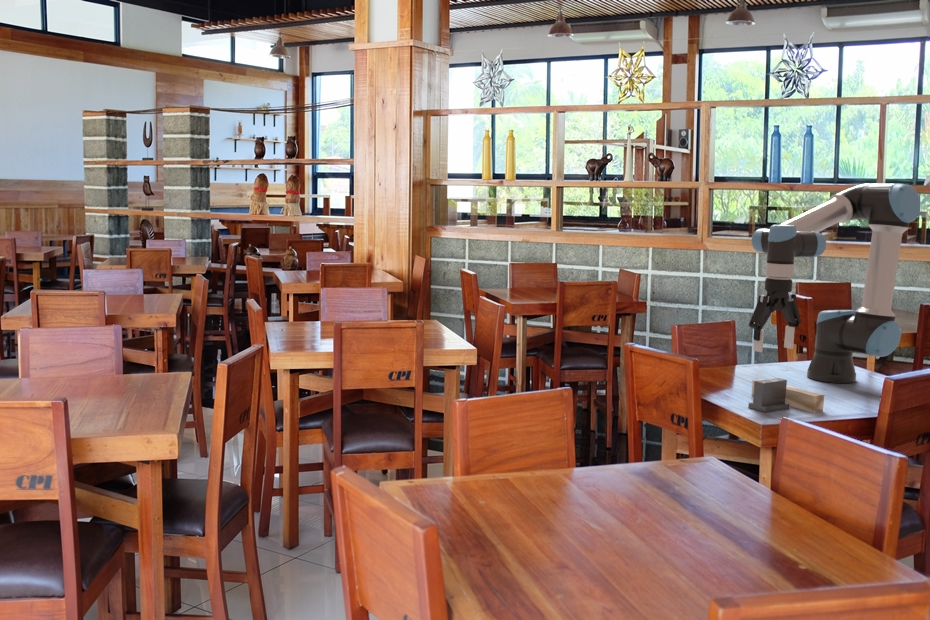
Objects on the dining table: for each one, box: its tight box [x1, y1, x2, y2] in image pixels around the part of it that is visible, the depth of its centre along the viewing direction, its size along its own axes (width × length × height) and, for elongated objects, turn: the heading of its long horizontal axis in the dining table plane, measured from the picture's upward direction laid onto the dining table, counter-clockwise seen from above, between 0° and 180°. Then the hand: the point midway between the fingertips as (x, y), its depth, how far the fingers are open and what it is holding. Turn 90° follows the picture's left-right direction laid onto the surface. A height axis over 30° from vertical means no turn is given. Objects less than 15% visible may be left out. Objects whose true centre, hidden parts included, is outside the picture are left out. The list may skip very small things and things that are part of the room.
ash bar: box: [751, 378, 825, 413], centre depth 264 cm, size 4×22×5 cm, turn 32°
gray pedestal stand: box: [747, 377, 790, 414], centre depth 257 cm, size 10×6×8 cm, turn 122°
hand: (773, 349), depth 267 cm, fingers open, 13 cm apart
